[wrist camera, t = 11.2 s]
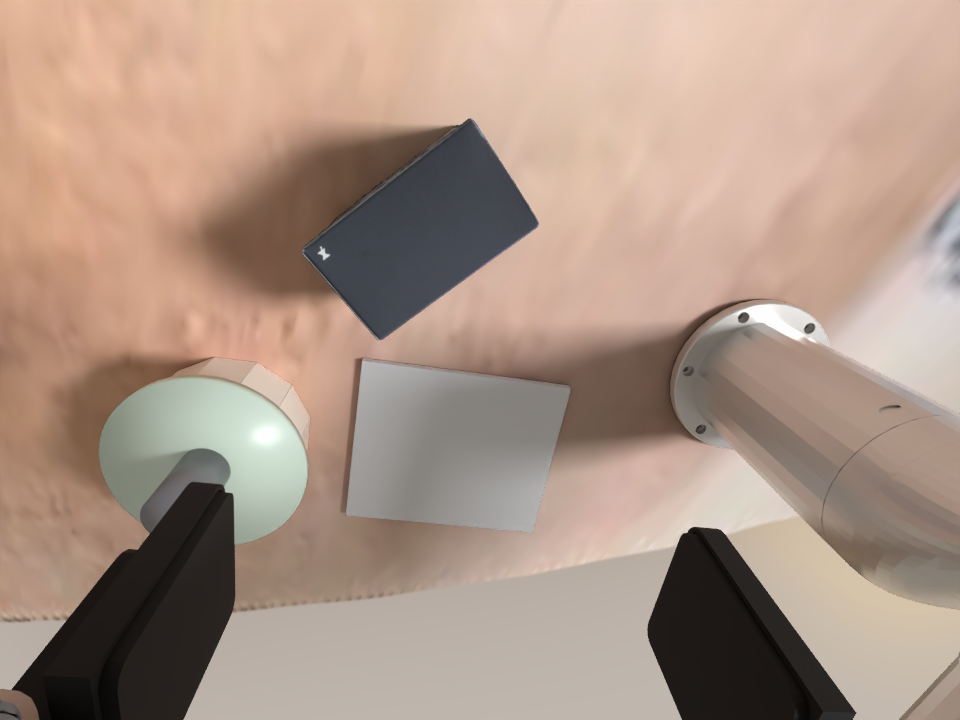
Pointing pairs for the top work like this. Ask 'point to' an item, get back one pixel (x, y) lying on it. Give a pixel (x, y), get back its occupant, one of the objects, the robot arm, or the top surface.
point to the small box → (422, 231)
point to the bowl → (257, 386)
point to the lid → (204, 451)
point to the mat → (452, 446)
